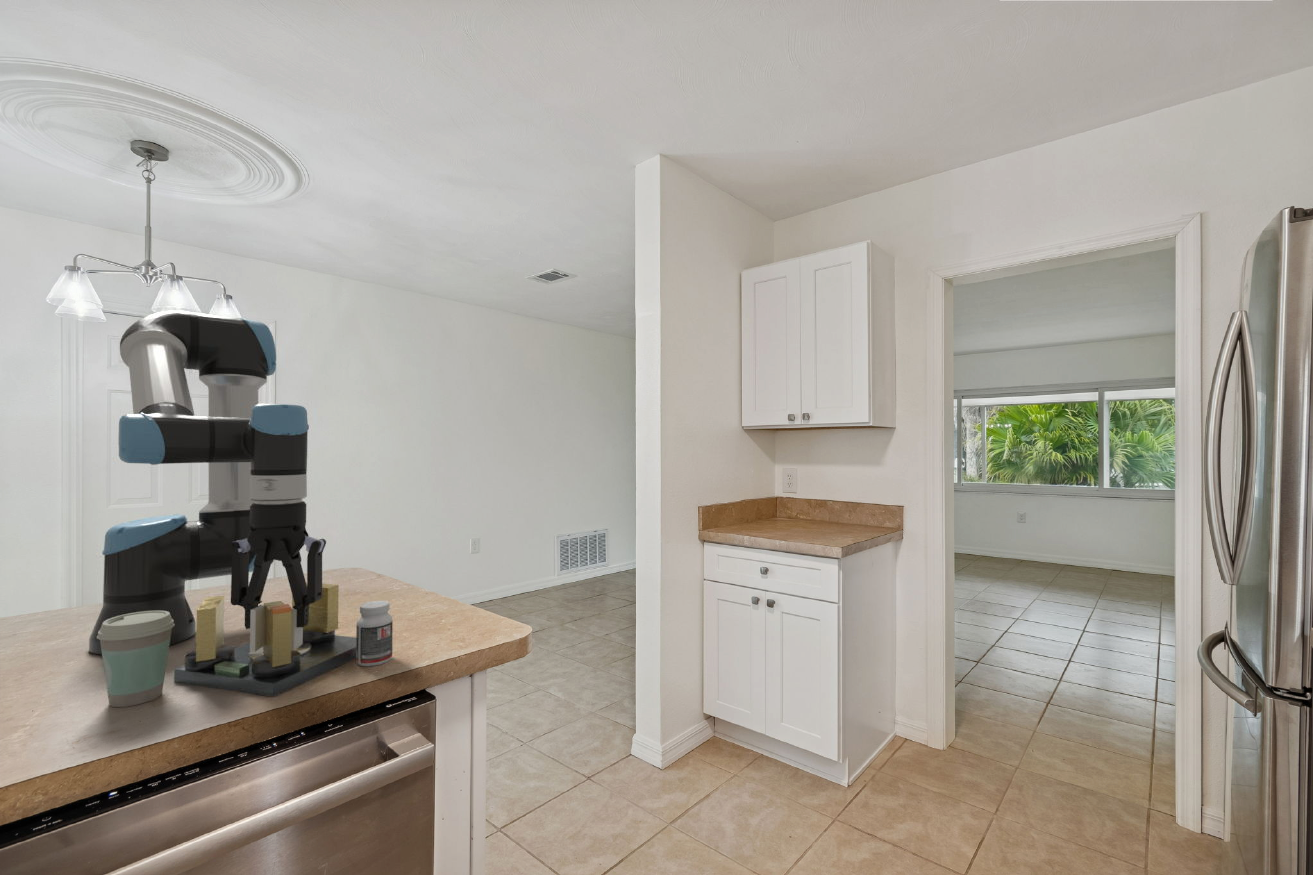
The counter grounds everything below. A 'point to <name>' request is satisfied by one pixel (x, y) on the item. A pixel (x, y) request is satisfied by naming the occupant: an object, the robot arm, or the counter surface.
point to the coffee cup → (135, 656)
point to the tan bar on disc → (276, 644)
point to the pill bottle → (374, 634)
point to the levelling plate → (241, 680)
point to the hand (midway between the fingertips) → (276, 647)
